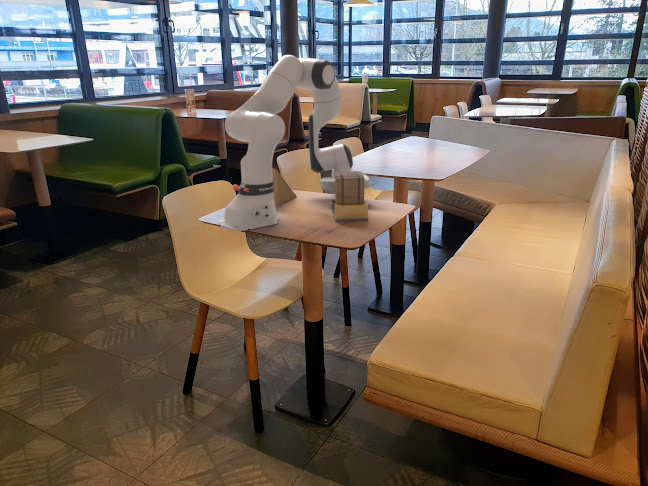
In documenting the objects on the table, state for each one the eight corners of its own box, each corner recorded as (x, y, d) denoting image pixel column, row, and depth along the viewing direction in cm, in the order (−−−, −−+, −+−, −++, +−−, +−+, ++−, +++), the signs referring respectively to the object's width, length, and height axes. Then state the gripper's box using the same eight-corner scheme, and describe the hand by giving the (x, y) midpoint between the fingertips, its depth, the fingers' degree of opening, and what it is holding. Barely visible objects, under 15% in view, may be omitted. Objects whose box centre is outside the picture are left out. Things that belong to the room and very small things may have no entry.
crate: (335, 205, 188) (335, 174, 184) (361, 204, 188) (361, 173, 184) (337, 210, 180) (337, 178, 176) (364, 210, 181) (364, 177, 177)
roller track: (330, 205, 199) (330, 191, 197) (359, 205, 200) (360, 190, 198) (335, 221, 178) (335, 205, 176) (367, 220, 179) (368, 204, 177)
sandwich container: (298, 197, 214) (297, 162, 209) (278, 205, 201) (276, 169, 196) (282, 195, 218) (280, 161, 213) (261, 202, 206) (259, 167, 201)
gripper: (318, 173, 205) (320, 180, 192) (367, 171, 206) (372, 178, 193) (319, 188, 207) (320, 196, 194) (367, 186, 208) (372, 194, 195)
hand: (346, 187), depth 193 cm, fingers closed
